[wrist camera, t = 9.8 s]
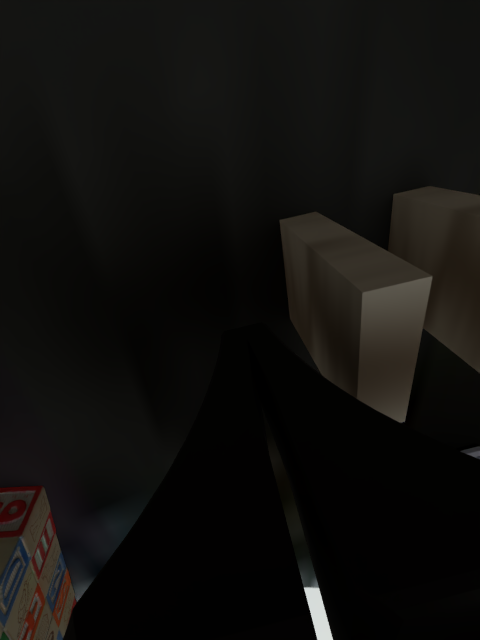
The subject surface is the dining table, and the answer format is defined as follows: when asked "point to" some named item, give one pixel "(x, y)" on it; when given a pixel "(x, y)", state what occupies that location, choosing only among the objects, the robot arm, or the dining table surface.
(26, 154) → the dining table surface
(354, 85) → the dining table surface
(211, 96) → the dining table surface
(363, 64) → the dining table surface
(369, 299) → the domino
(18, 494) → the stack of blocks
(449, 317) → the domino
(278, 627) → the robot arm
